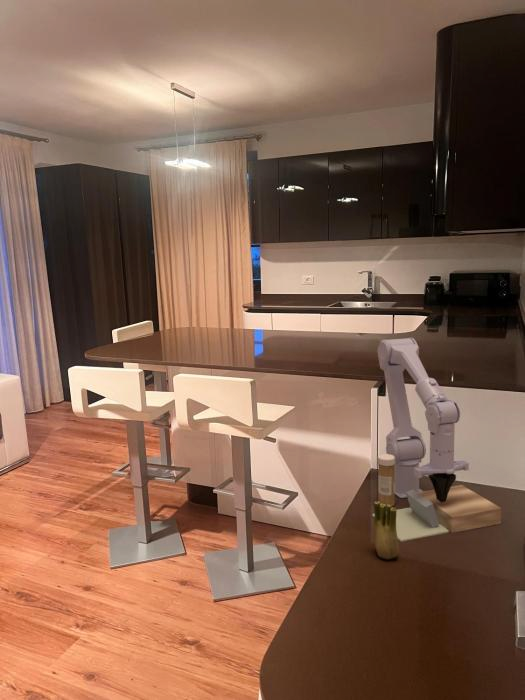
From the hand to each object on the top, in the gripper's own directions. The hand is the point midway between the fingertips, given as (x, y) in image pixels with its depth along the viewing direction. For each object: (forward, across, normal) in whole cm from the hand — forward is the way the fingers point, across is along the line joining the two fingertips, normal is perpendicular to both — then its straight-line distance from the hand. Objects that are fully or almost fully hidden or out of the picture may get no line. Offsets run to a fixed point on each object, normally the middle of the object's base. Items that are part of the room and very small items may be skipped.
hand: (441, 500), depth 128 cm
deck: (+5, +5, 0) cm, 7 cm away
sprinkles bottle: (+5, -9, +12) cm, 16 cm away
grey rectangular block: (+1, -5, 0) cm, 5 cm away
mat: (+5, -9, 0) cm, 10 cm away
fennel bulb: (+5, -22, -11) cm, 25 cm away
